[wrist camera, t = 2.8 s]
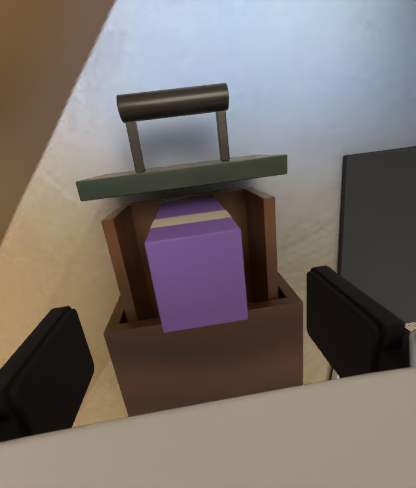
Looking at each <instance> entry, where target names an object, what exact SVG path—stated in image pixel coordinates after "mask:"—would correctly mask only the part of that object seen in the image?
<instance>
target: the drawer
mask: <svg viewBox="0 0 416 488" xmlns="http://www.w3.org/2000/svg"><path fill="white" fill-rule="evenodd" d="M117 106H118V111H119V114H120V117H121V120H122V121H123V123H126V127H127V132H128V137H129V142H130V147H131V152H132V156H133V161H134V166H135V171H128V172H120V173H113V174H106V175H102V176H98V177H93V178H89V179H85V180H81V181H77V182H76V185H77V189H78V192H79V196H80V200H81V201H88V200H95V199H103V198H110V197H118V196H125V195H133V194H140V193H148V192H155V191H163V190H170V189H178V188H185V187H193V186H201V185H208V184H216V183H223V182H231V181H238V180H246V179H253V178H261V177H268V176H276V175H283V174H287V155H286V154H284V155H252V156H245V157H237V158H230V157H229V146H228V135H227V123H226V112H225V111H227V110H228V106H229V95H228V87H227V84H226V83H220V84H211V85H203V86H194V87H185V88H176V89H168V90H159V91H150V92H141V93H133V94H124V95H117ZM210 112H216V121H217V131H218V141H219V152H220V160H214V161H206V162H198V163H190V164H182V165H175V166H167V167H159V168H151V169H145V166H144V161H143V156H142V151H141V145H140V140H139V135H138V130H137V125H136V122H135V121H143V120H152V119H160V118H169V117H177V116H185V115H194V114H202V113H210ZM205 196H214V197H215V198H216V199H217V200H218V202H219V203H220V204H221V205H222V207H223V208H224V209H225V210H226V211H227V212H228V213H229V214H230V216H231V217H232V219H233V220H234V222H235V223H236V224H237V225H238V227H239V228H240V229H241V237H242V249H243V261H244V273H245V286H246V298H247V304H249V303H256V302H262V301H268V300H275V299H278V277H277V249H276V221H275V197H273V196H271V195H269V194H266V193H264V192H262V191H260V190H257V189H255V188H253V187H245V188H237V189H230V190H222V191H215V192H208V193H200V194H193V195H185V196H178V197H170V198H163V199H156V200H148V201H141V202H133V203H126V204H122V205H121V206H120V207H118V208H117V209H116V210H115V211H113V212H112V213H111V214H110V215H108V216H107V217H106V218H105V219H103V220H102V226H103V229H104V233H105V237H106V241H107V245H108V248H109V252H110V256H111V260H112V264H113V268H114V271H115V275H116V279H117V283H118V287H119V290H120V294H121V298H122V302H123V306H124V309H125V313H126V317H127V321H128V322H135V321H141V320H147V319H154V318H160V315H159V310H158V305H157V301H156V296H155V291H154V286H153V282H152V277H151V272H150V268H149V263H148V258H147V253H146V249H145V241H146V239H147V236H148V234H149V232H150V228H151V225H152V223H153V221H154V220H155V218H156V216H157V213H158V211H159V209H160V206H161V204H162V202H169V201H176V200H183V199H191V198H198V197H205Z"/></svg>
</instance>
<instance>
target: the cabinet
mask: <svg viewBox="0 0 416 488" xmlns="http://www.w3.org/2000/svg"><path fill="white" fill-rule="evenodd" d="M277 277H278V299H275V300H268V301H262V302H256V303H249V304H247V310H248V319H247V320H240V321H234V322H228V323H222V324H215V325H209V326H203V327H197V328H190V329H184V330H178V331H172V332H165V333H164V332H163V329H162V324H161V319H160V318H154V319H147V320H141V321H135V322H128V321H127V317H126V313H125V309H124V306H123V302H122V298H121V295H120V298H119V300H118V302H117V304H116V307H115V309H114V311H113V313H112V316H111V318H110V320H109V322H108V325H107V327H106V329H105V331H104V337H105V340H106V344H107V347H108V350H109V353H110V357H111V360H112V363H113V367H114V370H115V373H116V376H117V380H118V383H119V386H120V390H121V393H122V396H123V399H124V403H125V406H126V409H127V413H128V416H129V417H132V416H137V415H143V414H148V413H154V412H159V411H164V410H170V409H175V408H181V407H186V406H191V405H197V404H202V403H208V402H213V401H218V400H224V399H229V398H235V397H240V396H245V395H251V394H256V393H262V392H267V391H272V390H278V389H283V388H289V387H294V386H300V385H303V301H302V300H301V299H300V298H299V297H298V296H297V294H296V293H295V292H294V291H293V290H292V288H291V287H290V286H289V285H288V284H287V282H286V281H285V280H284V279H283V277H282V276H281V275H280V274H279V273H278V271H277Z"/></svg>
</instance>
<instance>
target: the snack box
mask: <svg viewBox="0 0 416 488" xmlns="http://www.w3.org/2000/svg"><path fill="white" fill-rule="evenodd" d="M145 249H146V253H147V258H148V263H149V268H150V272H151V277H152V282H153V286H154V291H155V296H156V301H157V305H158V310H159V315H160V319H161V324H162V329H163V332H164V333H165V332H172V331H178V330H184V329H190V328H197V327H203V326H209V325H215V324H222V323H228V322H234V321H240V320H247V319H248V310H247V298H246V286H245V273H244V261H243V249H242V237H241V229H240V228H239V227H238V225H237V224H236V223H235V222H234V220H233V219H232V217H231V216H230V214H229V213H228V212H227V211H226V210H225V209H224V208H223V207H222V205H221V204H220V203H219V202H218V200H217V199H216V198H215V197H214V196H205V197H198V198H191V199H183V200H176V201H169V202H162V204H161V206H160V209H159V211H158V213H157V216H156V218H155V220H154V221H153V223H152V225H151V228H150V232H149V234H148V236H147V239H146V241H145Z"/></svg>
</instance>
